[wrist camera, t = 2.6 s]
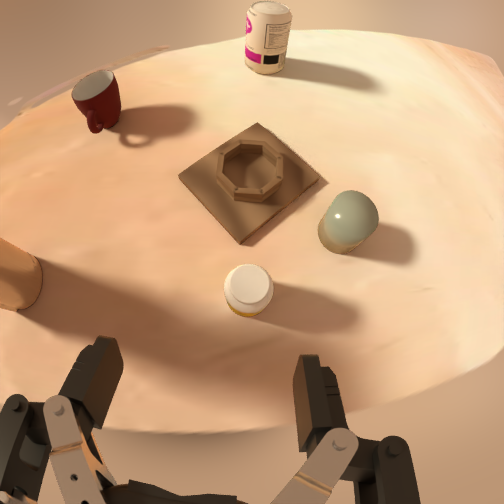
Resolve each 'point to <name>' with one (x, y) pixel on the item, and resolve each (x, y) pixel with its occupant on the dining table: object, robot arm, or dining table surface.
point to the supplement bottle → (248, 289)
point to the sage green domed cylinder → (347, 222)
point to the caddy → (248, 180)
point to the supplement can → (267, 36)
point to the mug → (98, 100)
